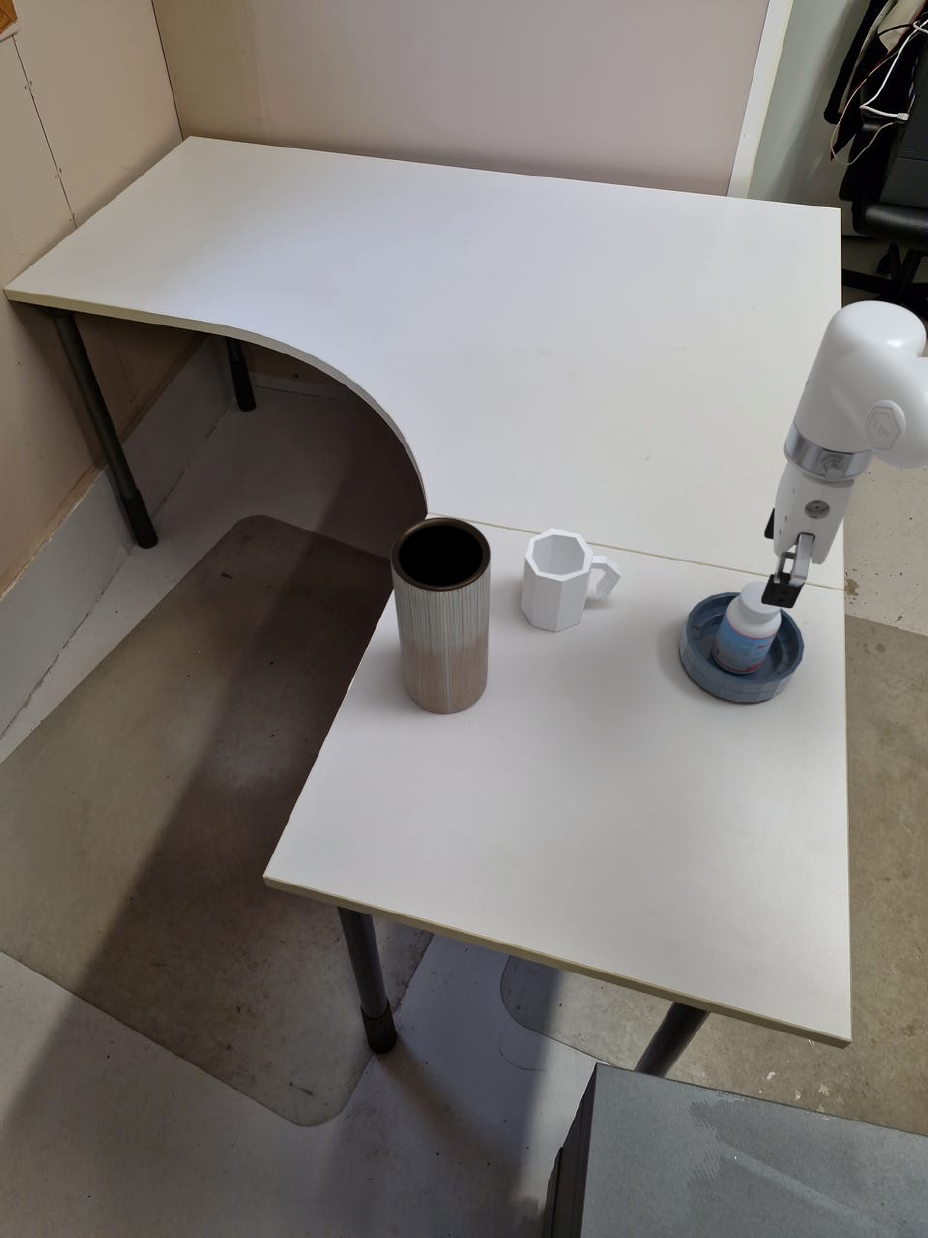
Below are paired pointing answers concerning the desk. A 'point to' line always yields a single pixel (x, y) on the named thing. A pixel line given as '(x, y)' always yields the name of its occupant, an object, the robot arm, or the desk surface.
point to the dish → (730, 685)
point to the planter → (443, 611)
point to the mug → (561, 579)
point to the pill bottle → (746, 631)
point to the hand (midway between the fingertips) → (777, 570)
